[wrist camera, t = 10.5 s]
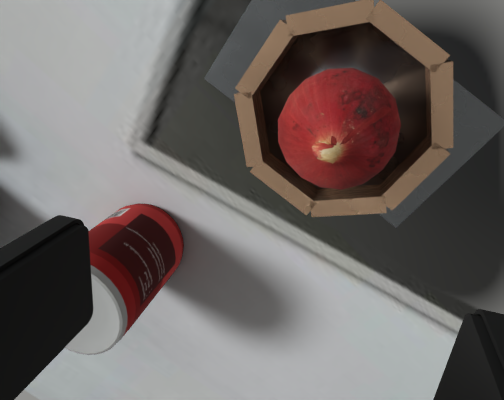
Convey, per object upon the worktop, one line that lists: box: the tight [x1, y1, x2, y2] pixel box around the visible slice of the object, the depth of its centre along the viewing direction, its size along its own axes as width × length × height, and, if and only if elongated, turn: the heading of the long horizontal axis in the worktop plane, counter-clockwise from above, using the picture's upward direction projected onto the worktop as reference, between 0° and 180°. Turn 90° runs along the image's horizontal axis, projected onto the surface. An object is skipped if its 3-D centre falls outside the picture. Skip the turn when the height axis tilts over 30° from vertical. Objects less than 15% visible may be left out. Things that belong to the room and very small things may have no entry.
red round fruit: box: [278, 68, 401, 190], centre depth 20 cm, size 6×6×8 cm
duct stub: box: [204, 0, 504, 228], centre depth 26 cm, size 18×11×8 cm, turn 55°
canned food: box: [65, 204, 184, 355], centre depth 34 cm, size 8×8×11 cm
